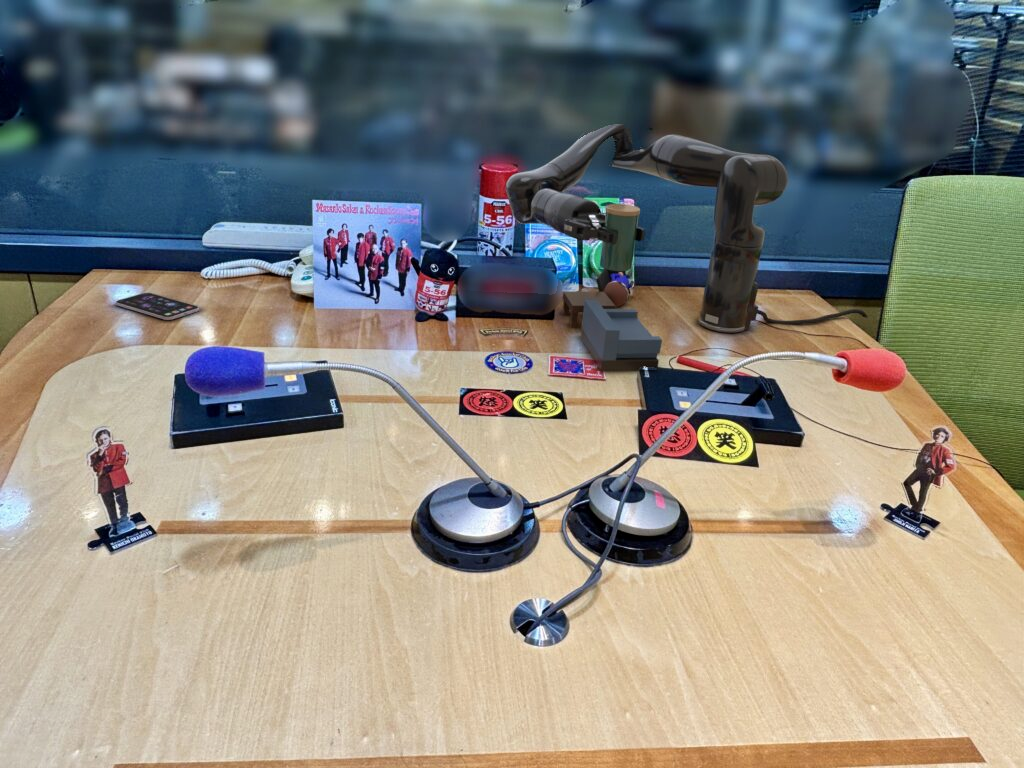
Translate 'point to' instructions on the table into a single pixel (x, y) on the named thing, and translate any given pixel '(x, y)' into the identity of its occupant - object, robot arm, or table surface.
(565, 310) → the stool
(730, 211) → the robot arm
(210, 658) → the table surface
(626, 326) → the sofa
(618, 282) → the character figurine
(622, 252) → the canister
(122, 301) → the smartphone
